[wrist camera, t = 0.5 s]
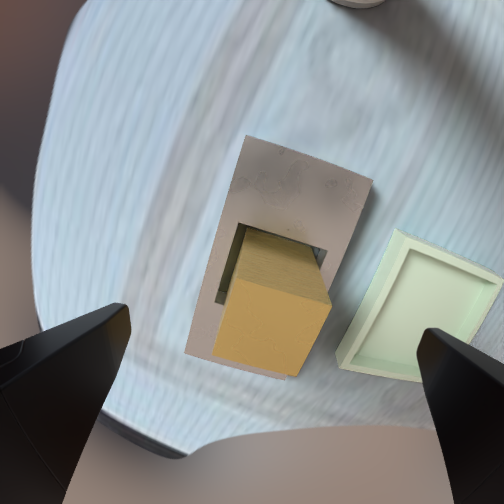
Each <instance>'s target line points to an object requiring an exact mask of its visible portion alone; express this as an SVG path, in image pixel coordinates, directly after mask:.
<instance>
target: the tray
mask: <svg viewBox="0 0 504 504" xmlns="http://www.w3.org/2000/svg"><path fill="white" fill-rule="evenodd" d="M503 283H504V279H503V278H502V277H500V276H499V275H498V274H496V273H495V272H494V271H492V270H490V269H488V268H486V267H484V266H482V265H480V264H478V263H475V262H473V261H471V260H469V259H467V258H465V257H462V256H460V255H458V254H456V253H453V252H451V251H449V250H447V249H444V248H442V247H440V246H437V245H435V244H433V243H430V242H428V241H426V240H423V239H421V238H418V237H416V236H414V235H411V234H409V233H406V232H404V231H401V230H399V229H396V228H395V230H394V232H393V235H392V237H391V239H390V242H389V244H388V246H387V249H386V251H385V253H384V255H383V258H382V260H381V262H380V264H379V267H378V269H377V271H376V273H375V275H374V277H373V279H372V282H371V284H370V286H369V288H368V290H367V292H366V294H365V296H364V298H363V300H362V302H361V304H360V306H359V308H358V310H357V312H356V314H355V316H354V318H353V320H352V322H351V324H350V326H349V328H348V329H347V331H346V333H345V335H344V337H343V339H342V341H341V342H340V344H339V346H338V348H337V350H336V351H335V355H336V359H337V363H338V366H339V368H340V369H345V370H350V371H355V372H360V373H366V374H371V375H377V376H382V377H388V378H394V379H401V380H407V381H414V382H421V383H422V378H421V374H420V369H419V365H418V361H417V357H416V351H417V348H418V345H419V343H420V340H421V337H422V335H423V332H424V330H425V329H426V328H439V329H441V330H443V331H445V332H447V333H448V334H450V335H452V336H454V337H456V338H457V339H459V340H461V341H463V342H465V343H467V344H468V345H469V344H470V342H471V340H472V339H473V337H474V335H475V334H476V332H477V331H478V329H479V327H480V325H481V324H482V322H483V320H484V319H485V317H486V315H487V313H488V311H489V310H490V308H491V306H492V304H493V302H494V300H495V298H496V297H497V295H498V293H499V291H500V289H501V287H502V285H503Z"/></svg>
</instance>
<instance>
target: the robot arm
mask: <svg viewBox="0 0 504 504" xmlns="http://www.w3.org/2000/svg"><path fill="white" fill-rule="evenodd" d="M130 335H131V322H130V314H129V308H128V306H127V305H126V304H121V303H112V304H110V305H107V306H105V307H102V308H100V309H98V310H95V311H93V312H90V313H88V314H85V315H83V316H80V317H78V318H75V319H73V320H70V321H68V322H66V323H63V324H61V325H58V326H56V327H53V328H51V329H48V330H46V331H44V332H41V333H39V334H36V335H34V336H31V337H29V338H26V339H25V340H21V341H19V342H17V343H14V344H12V345H9V346H6V347H4V348H1V349H0V504H62V502H63V500H64V497H65V494H66V491H67V489H68V486H69V484H70V481H71V478H72V476H73V473H74V471H75V468H76V466H77V463H78V461H79V459H80V456H81V454H82V451H83V449H84V447H85V444H86V442H87V440H88V437H89V435H90V433H91V431H92V428H93V426H94V424H95V421H96V419H97V417H98V415H99V413H100V410H101V408H102V406H103V404H104V402H105V399H106V397H107V395H108V393H109V391H110V389H111V386H112V384H113V382H114V380H115V378H116V376H117V373H118V370H119V367H120V364H121V361H122V358H123V356H124V353H125V350H126V347H127V344H128V341H129V338H130ZM416 357H417V361H418V365H419V369H420V374H421V378H422V383H423V387H424V391H425V395H426V399H427V402H428V405H429V408H430V412H431V415H432V418H433V421H434V425H435V428H436V431H437V435H438V438H439V442H440V446H441V449H442V453H443V456H444V461H445V465H446V468H447V473H448V477H449V481H450V486H451V490H452V495H453V500H454V504H504V364H503V363H501V362H499V361H497V360H495V359H494V358H492V357H490V356H488V355H486V354H485V353H483V352H481V351H479V350H477V349H476V348H474V347H472V346H470V345H468V344H467V343H465V342H463V341H461V340H459V339H457V338H456V337H454V336H452V335H450V334H448V333H447V332H445V331H443V330H441V329H439V328H426V329H425V330H424V332H423V335H422V337H421V340H420V343H419V345H418V348H417V351H416Z"/></svg>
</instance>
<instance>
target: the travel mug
mask: <svg viewBox="0 0 504 504" xmlns="http://www.w3.org/2000/svg"><path fill="white" fill-rule="evenodd" d="M331 1H333V2H335V3H338V4H340V5H343V6H347V7H352V8H371V7H374V6H377V5H379V4H381V3H383V2H384V1H385V0H331Z"/></svg>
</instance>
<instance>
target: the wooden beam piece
mask: <svg viewBox="0 0 504 504" xmlns="http://www.w3.org/2000/svg"><path fill="white" fill-rule="evenodd" d="M331 308H332V304H331V301H330V298H329V295H328V292H327V289H326V287H325V284H324V281H323V278H322V276H321V273H320V270H319V267H318V265H317V262H316V259H315V256H314V254H313V251H312V248H311V247H309V246H306V245H303V244H300V243H297V242H294V241H290V240H287V239H284V238H281V237H278V236H275V235H272V234H268V233H265V232H262V231H259V230H256V229H252V228H249V227H247V230H246V233H245V236H244V239H243V242H242V246H241V249H240V252H239V255H238V258H237V261H236V265H235V268H234V271H233V274H232V277H231V280H230V284H229V287H228V291H227V295H226V299H225V303H224V307H223V311H222V315H221V319H220V323H219V327H218V331H217V335H216V339H215V343H214V347H213V351H212V355H213V356H216V357H220V358H223V359H227V360H231V361H234V362H238V363H242V364H245V365H249V366H253V367H257V368H261V369H265V370H269V371H273V372H277V373H282V374H286V375H290V376H295V377H296V376H297V374H298V373H299V371H300V369H301V367H302V365H303V363H304V361H305V359H306V358H307V356H308V354H309V352H310V350H311V348H312V346H313V344H314V342H315V340H316V338H317V336H318V334H319V332H320V330H321V328H322V326H323V324H324V322H325V320H326V318H327V316H328V314H329V312H330V310H331Z"/></svg>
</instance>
